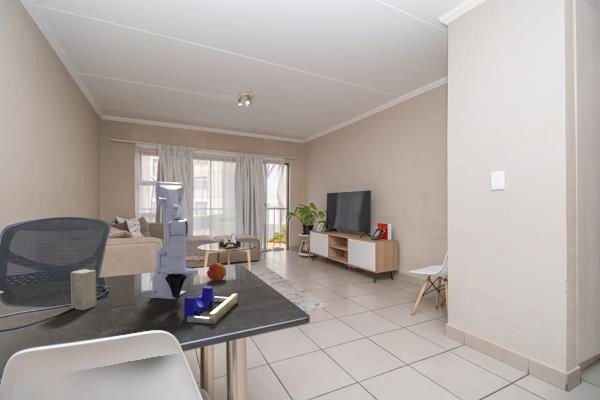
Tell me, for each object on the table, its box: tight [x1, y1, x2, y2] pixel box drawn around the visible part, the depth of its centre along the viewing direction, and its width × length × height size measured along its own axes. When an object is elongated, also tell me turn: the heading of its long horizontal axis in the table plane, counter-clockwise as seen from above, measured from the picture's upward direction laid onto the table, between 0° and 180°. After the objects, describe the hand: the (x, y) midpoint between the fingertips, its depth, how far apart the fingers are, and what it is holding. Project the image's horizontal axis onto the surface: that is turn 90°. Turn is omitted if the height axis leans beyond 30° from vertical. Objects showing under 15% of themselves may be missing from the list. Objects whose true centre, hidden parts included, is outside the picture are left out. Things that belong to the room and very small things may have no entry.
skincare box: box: [70, 268, 97, 311], centre depth 93 cm, size 6×4×12 cm
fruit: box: [206, 262, 227, 282], centre depth 126 cm, size 8×8×8 cm
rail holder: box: [186, 293, 239, 325], centre depth 91 cm, size 8×18×3 cm, turn 171°
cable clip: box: [183, 286, 214, 318], centre depth 92 cm, size 12×4×6 cm, turn 169°
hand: (176, 296), depth 93 cm, fingers closed
